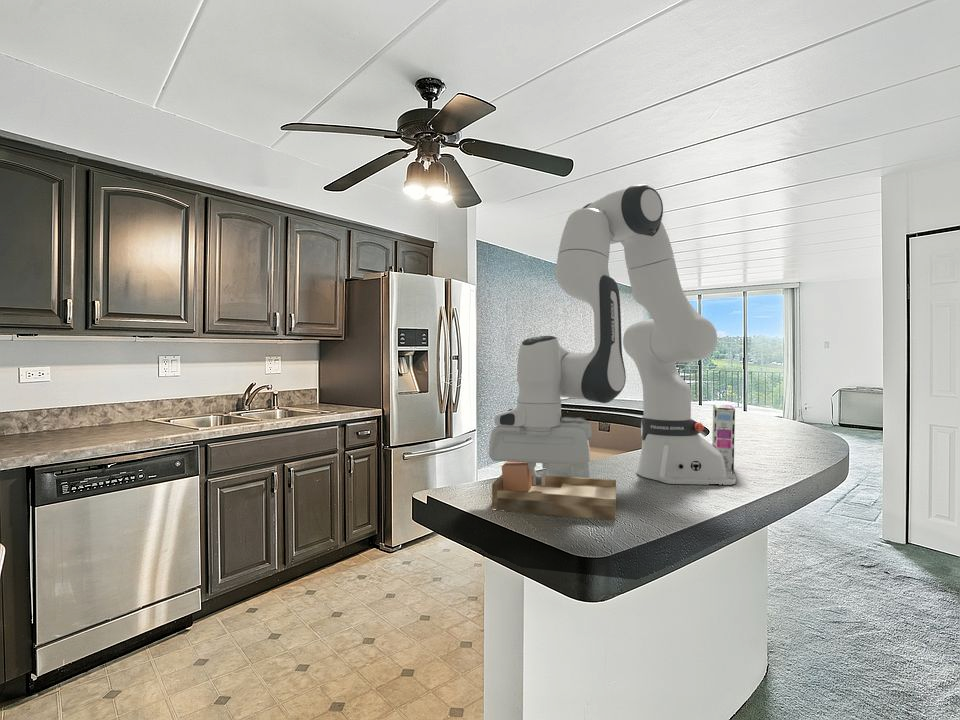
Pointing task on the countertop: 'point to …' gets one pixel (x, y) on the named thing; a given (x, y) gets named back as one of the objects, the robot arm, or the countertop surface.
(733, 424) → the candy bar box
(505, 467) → the block
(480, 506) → the countertop surface
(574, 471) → the skincare box
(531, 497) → the wooden tray
